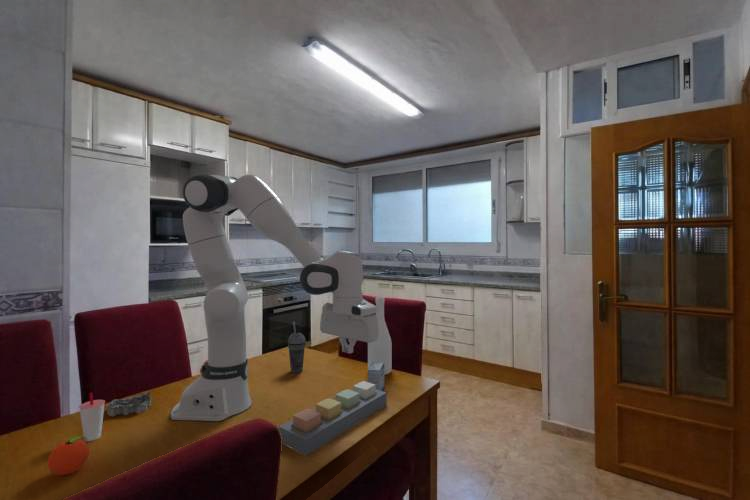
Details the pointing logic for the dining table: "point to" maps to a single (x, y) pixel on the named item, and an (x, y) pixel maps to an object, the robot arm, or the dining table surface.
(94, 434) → the cup
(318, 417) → the button terracotta
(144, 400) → the egg carton
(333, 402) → the button mustard
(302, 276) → the robot arm
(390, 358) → the grey bottle
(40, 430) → the dining table surface
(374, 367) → the medicine box
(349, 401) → the button sage
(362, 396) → the button cream
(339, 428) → the tray
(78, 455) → the clementine
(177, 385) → the dining table surface
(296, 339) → the beverage cup
